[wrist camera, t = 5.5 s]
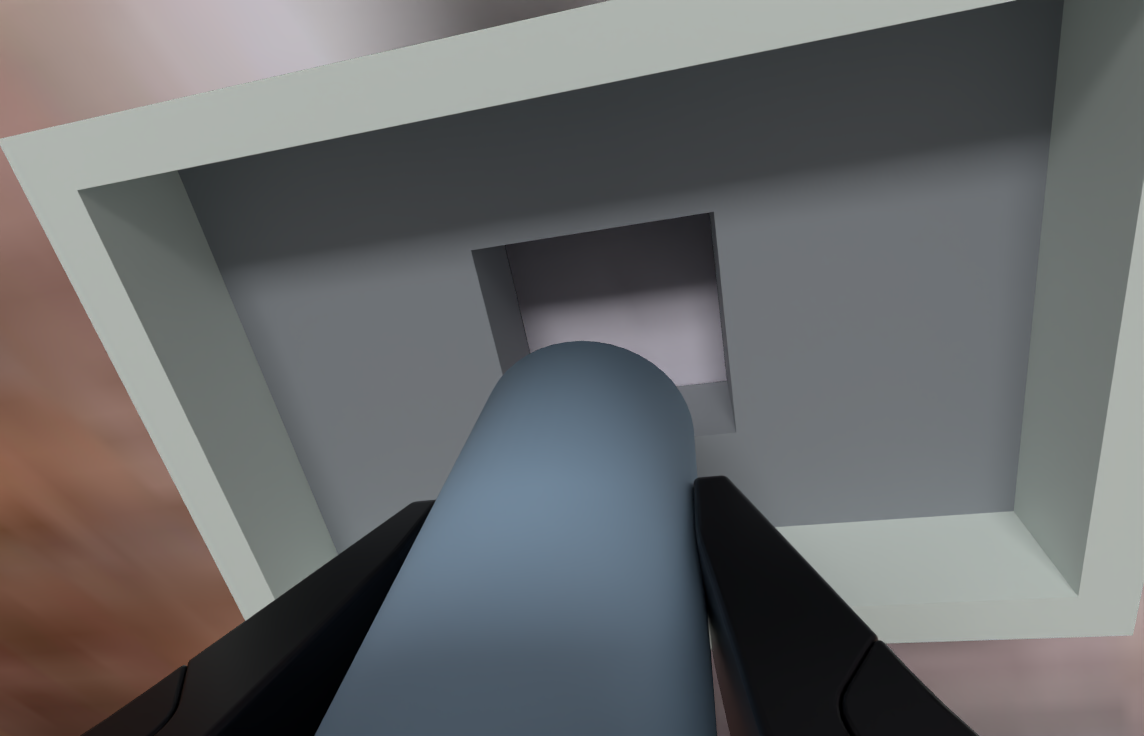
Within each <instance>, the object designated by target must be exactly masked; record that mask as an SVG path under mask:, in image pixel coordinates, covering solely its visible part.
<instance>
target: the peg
mask: <svg viewBox="0 0 1144 736" xmlns="http://www.w3.org/2000/svg"><path fill="white" fill-rule="evenodd" d="M696 478H697V465H696V452H695V438H694V427H693V422H692V417H691V414H690V411H689V409H688V406H687V403H686V402H685V400H684V398H683V396H682V394H681V392H680V391H679V390H678V388H677V387H676V386H675V384H674V383H673V382H672V380H671V379H670V378H669V377H668V376H667V375H666V374H665V373H664V372H663V371H662V370H660V369H659V368H658V367H656V366H655V365H654V364H653V363H651V362H650V361H648V360H646V359H645V358H643V357H641V356H640V355H638V354H636V353H633V352H631V351H629V350H627V349H624V348H621V347H618V346H614V345H611V344H605V343H600V342H590V341H575V342H564V343H559V344H554V345H551V346H547V347H544V348H541V349H539V350H537V351H535V352H533V353H530V354H528V355H527V356H525V357H524V358H522V359H521V360H519V361H518V362H516V363H515V364H514V365H513V366H512V367H510V368H509V369H508V370H507V371H506V372H505V373H504V375H503V376H502V377H501V378H500V379H499V381H498V382H497V384H496V386H495V387H494V389H493V390H492V392H491V394H490V396H489V398H488V400H487V402H486V404H485V406H484V408H483V410H482V412H481V414H480V416H479V418H478V419H477V421H476V423H475V425H474V427H473V429H472V431H471V433H470V435H469V437H468V439H467V441H466V443H465V445H464V447H463V449H462V451H461V452H460V454H459V456H458V458H457V460H456V462H455V464H454V466H453V468H452V470H451V472H450V474H449V476H448V478H447V480H446V482H445V483H444V485H443V487H442V489H441V491H440V493H439V495H438V497H437V499H436V501H435V503H434V505H433V507H432V509H431V511H430V513H429V515H428V516H427V518H426V520H425V522H424V524H423V526H422V528H421V530H420V532H419V534H418V536H417V538H416V540H415V542H414V544H413V546H412V548H411V549H410V551H409V553H408V555H407V557H406V559H405V561H404V563H403V565H402V567H401V569H400V571H399V573H398V575H397V577H396V579H395V580H394V582H393V584H392V586H391V588H390V590H389V592H388V594H387V596H386V598H385V600H384V602H383V604H382V606H381V608H380V610H379V612H378V613H377V615H376V617H375V619H374V621H373V623H372V625H371V627H370V629H369V631H368V633H367V635H366V637H365V639H364V641H363V643H362V644H361V646H360V648H359V650H358V652H357V654H356V656H355V658H354V660H353V662H352V664H351V666H350V668H349V670H348V672H347V674H346V676H345V677H344V679H343V681H342V683H341V685H340V687H339V689H338V691H337V693H336V695H335V697H334V699H333V701H332V703H331V705H330V707H329V709H328V710H327V712H326V714H325V716H324V718H323V720H322V722H321V724H320V726H319V728H318V730H317V732H316V734H315V736H717V729H716V715H715V702H714V689H713V676H712V663H711V649H710V636H709V623H708V610H707V601H706V595H705V589H704V584H703V578H702V573H701V566H700V559H699V552H698V545H697V538H696V529H695V508H694V480H695V479H696Z"/></svg>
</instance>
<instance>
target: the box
mask: <svg viewBox="0 0 1144 736" xmlns="http://www.w3.org/2000/svg"><path fill="white" fill-rule="evenodd" d="M0 146H1V148H2V150H3V152H4V154H5V156H6V158H7V159H8V161H9V163H10V165H11V167H12V169H13V171H14V173H15V175H16V177H17V179H18V181H19V183H20V185H21V187H22V189H23V190H24V192H25V194H26V196H27V198H28V200H29V202H30V204H31V206H32V208H33V210H34V212H35V214H36V216H37V218H38V220H39V222H40V223H41V225H42V227H43V229H44V231H45V233H46V235H47V237H48V239H49V241H50V243H51V245H52V247H53V249H54V251H55V253H56V254H57V256H58V258H59V260H60V262H61V264H62V266H63V268H64V270H65V272H66V274H67V276H68V278H69V280H70V282H71V284H72V285H73V287H74V289H75V291H76V293H77V295H78V297H79V299H80V301H81V303H82V305H83V307H84V309H85V311H86V313H87V315H88V317H89V318H90V320H91V322H92V324H93V326H94V328H95V330H96V332H97V334H98V336H99V338H100V340H101V342H102V344H103V346H104V348H105V349H106V351H107V353H108V355H109V357H110V359H111V361H112V363H113V365H114V367H115V369H116V371H117V373H118V375H119V377H120V379H121V380H122V382H123V384H124V386H125V388H126V390H127V392H128V394H129V396H130V398H131V400H132V402H133V404H134V406H135V408H136V410H137V411H138V413H139V415H140V417H141V419H142V421H143V423H144V425H145V427H146V429H147V431H148V433H149V435H150V437H151V439H152V441H153V443H154V444H155V446H156V448H157V450H158V452H159V454H160V456H161V458H162V460H163V462H164V464H165V466H166V468H167V470H168V472H169V474H170V475H171V477H172V479H173V481H174V483H175V485H176V487H177V489H178V491H179V493H180V495H181V497H182V499H183V501H184V503H185V505H186V506H187V508H188V510H189V512H190V514H191V516H192V518H193V520H194V522H195V524H196V526H197V528H198V530H199V532H200V534H201V536H202V538H203V539H204V541H205V543H206V545H207V547H208V549H209V551H210V553H211V555H212V557H213V559H214V561H215V563H216V565H217V567H218V569H219V570H220V572H221V574H222V576H223V578H224V580H225V582H226V584H227V586H228V588H229V590H230V592H231V594H232V596H233V598H234V600H235V601H236V603H237V605H238V607H239V609H240V611H241V613H242V615H243V617H244V619H245V621H246V620H247V619H249V618H250V617H251V616H253V615H254V614H256V613H257V612H258V611H260V610H261V609H263V608H264V607H265V606H267V605H268V604H270V603H271V602H272V601H274V600H275V599H277V598H278V597H279V596H281V595H282V594H284V593H285V592H287V591H288V590H289V589H291V588H292V587H294V586H295V585H296V584H298V583H299V582H301V581H302V580H303V579H305V578H306V577H308V576H309V575H310V574H312V573H313V572H315V571H316V570H317V569H319V568H320V567H322V566H323V565H324V564H326V563H327V562H329V561H330V560H331V559H333V558H334V557H336V556H337V555H339V554H340V553H341V552H343V551H344V550H346V549H347V548H348V547H350V546H351V545H353V544H354V543H355V542H357V541H358V540H360V539H361V538H362V537H364V536H365V535H367V534H368V533H369V532H371V531H372V530H374V529H375V528H376V527H378V526H379V525H381V524H382V523H383V522H385V521H386V520H388V519H389V518H391V517H392V516H393V515H395V514H396V513H398V512H399V511H400V510H402V509H403V508H405V507H406V506H407V505H409V504H410V503H412V502H415V501H425V500H436V499H437V497H438V495H439V493H440V491H441V489H442V487H443V485H444V483H445V482H446V480H447V478H448V476H449V474H450V472H451V470H452V468H453V466H454V464H455V462H456V460H457V458H458V456H459V454H460V452H461V451H462V449H463V447H464V445H465V443H466V441H467V439H468V437H469V435H470V433H471V431H472V429H473V427H474V425H475V423H476V421H477V419H478V418H479V416H480V414H481V412H482V410H483V408H484V406H485V404H486V402H487V400H488V398H489V396H490V394H491V392H492V390H493V389H494V387H495V386H496V384H497V382H498V381H499V379H500V378H501V377H502V376H503V375H504V373H505V372H506V371H507V370H508V369H509V368H510V367H512V366H513V365H514V364H515V363H516V362H518V361H519V360H521V359H522V358H524V357H525V356H527V355H528V354H530V352H529V347H528V343H527V339H526V335H525V330H524V326H523V322H522V318H521V313H520V309H519V305H518V300H517V296H516V292H515V288H514V283H513V279H512V275H511V271H510V266H509V262H508V258H507V254H506V249H505V245H508V244H514V243H520V242H527V241H533V240H539V239H545V238H552V237H558V236H564V235H570V234H577V233H583V232H589V231H596V230H602V229H608V228H614V227H621V226H627V225H633V224H640V223H646V222H652V221H658V220H665V219H671V218H677V217H684V216H690V215H696V214H702V213H710V223H711V233H712V242H713V252H714V261H715V271H716V280H717V290H718V299H719V309H720V318H721V328H722V338H723V347H724V357H725V366H726V376H727V381H723V382H713V383H704V384H695V385H686V386H677V388H678V390H679V391H680V392H681V394H682V396H683V398H684V400H685V402H686V403H687V406H688V409H689V411H690V414H691V417H692V422H693V427H694V438H695V452H696V465H697V478H698V477H707V476H719V475H724V476H726V477H728V478H729V479H730V480H731V481H732V482H733V483H734V484H735V486H736V487H737V488H738V489H739V490H740V491H741V492H742V493H743V494H744V495H745V496H746V497H747V498H748V499H749V500H750V501H751V502H752V504H753V505H754V506H755V507H756V508H757V509H758V510H759V511H760V512H761V513H762V514H763V515H764V516H765V517H766V518H767V519H768V521H769V522H770V523H771V524H772V525H773V526H774V527H775V528H776V529H777V530H778V531H779V532H780V533H781V534H782V535H783V536H784V537H785V539H786V540H787V541H788V542H789V543H790V544H791V545H792V546H793V547H794V548H795V549H796V550H797V551H798V552H799V553H800V554H801V555H802V557H803V558H804V559H805V560H806V561H807V562H808V563H809V564H810V565H811V566H812V567H813V568H814V569H815V570H816V571H817V572H818V574H819V575H820V576H821V577H822V578H823V579H824V580H825V581H826V582H827V583H828V584H829V585H830V586H831V587H832V588H833V589H834V590H835V592H836V593H837V594H838V595H839V596H840V597H841V598H842V599H843V600H844V601H845V602H846V603H847V604H848V605H849V606H850V607H851V608H852V610H853V611H854V612H855V613H856V614H857V615H858V616H859V617H860V618H861V619H862V620H863V621H864V622H865V623H866V624H867V625H868V627H869V628H870V629H871V630H872V631H873V632H874V633H875V634H876V635H877V637H878V640H881V641H883V642H884V643H916V642H946V641H977V640H1007V639H1037V638H1068V637H1098V636H1129V635H1133V632H1134V627H1135V622H1136V617H1137V612H1138V608H1139V603H1140V598H1141V593H1142V588H1143V583H1144V0H610V1H605V2H601V3H596V4H592V5H588V6H583V7H579V8H574V9H570V10H565V11H561V12H557V13H552V14H548V15H543V16H539V17H535V18H530V19H526V20H521V21H517V22H513V23H508V24H504V25H499V26H495V27H491V28H486V29H482V30H477V31H473V32H469V33H464V34H460V35H455V36H451V37H447V38H442V39H438V40H433V41H429V42H425V43H420V44H416V45H411V46H407V47H402V48H398V49H394V50H389V51H385V52H380V53H376V54H372V55H367V56H363V57H358V58H354V59H350V60H345V61H341V62H336V63H332V64H328V65H323V66H319V67H314V68H310V69H306V70H301V71H297V72H292V73H288V74H284V75H279V76H275V77H270V78H266V79H262V80H257V81H253V82H248V83H244V84H239V85H235V86H231V87H226V88H222V89H217V90H213V91H209V92H204V93H200V94H195V95H191V96H187V97H182V98H178V99H173V100H169V101H165V102H160V103H156V104H151V105H147V106H143V107H138V108H134V109H129V110H125V111H121V112H116V113H112V114H107V115H103V116H98V117H94V118H90V119H85V120H81V121H76V122H72V123H68V124H63V125H59V126H54V127H50V128H46V129H41V130H37V131H32V132H28V133H24V134H19V135H15V136H10V137H6V138H2V139H0ZM709 636H710V630H709ZM710 649H712V644H711V637H710Z"/></svg>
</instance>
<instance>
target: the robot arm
mask: <svg viewBox="0 0 1144 736" xmlns="http://www.w3.org/2000/svg"><path fill="white" fill-rule="evenodd" d="M435 501H436V500H425V501H415V502H412V503H410V504H409V505H407V506H406V507H405V508H403V509H402V510H400V511H399V512H398V513H396V514H395V515H393V516H392V517H391V518H389V519H388V520H386V521H385V522H383V523H382V524H381V525H379V526H378V527H376V528H375V529H374V530H372V531H371V532H369V533H368V534H367V535H365V536H364V537H362V538H361V539H360V540H358V541H357V542H355V543H354V544H353V545H351V546H350V547H348V548H347V549H346V550H344V551H343V552H341V553H340V554H339V555H337V556H336V557H334V558H333V559H331V560H330V561H329V562H327V563H326V564H324V565H323V566H322V567H320V568H319V569H317V570H316V571H315V572H313V573H312V574H310V575H309V576H308V577H306V578H305V579H303V580H302V581H301V582H299V583H298V584H296V585H295V586H294V587H292V588H291V589H289V590H288V591H287V592H285V593H284V594H282V595H281V596H279V597H278V598H277V599H275V600H274V601H272V602H271V603H270V604H268V605H267V606H265V607H264V608H263V609H261V610H260V611H258V612H257V613H256V614H254V615H253V616H251V617H250V618H249V619H247V620H246V621H244V622H243V623H242V624H240V625H239V626H237V627H236V628H235V629H233V630H232V631H230V632H229V633H227V634H226V635H225V636H223V637H222V638H220V639H219V640H218V641H216V642H215V643H213V644H212V645H211V646H209V647H208V648H206V649H205V650H204V651H202V652H201V653H199V654H198V655H197V656H195V657H194V658H192V659H191V660H190V661H189V662H188V666H185V665H183V666H181V667H179V668H178V669H177V670H175V671H174V672H172V673H171V674H170V675H168V676H167V677H165V678H164V679H163V680H161V681H160V682H158V683H157V684H156V685H154V686H153V687H151V688H150V689H148V690H147V691H146V692H144V693H143V694H141V695H140V696H138V697H137V698H135V699H134V700H133V701H131V702H130V703H128V704H127V705H125V706H124V707H122V708H121V709H120V710H118V711H117V712H115V713H114V714H112V715H111V716H109V717H108V718H107V719H105V720H104V721H102V722H100V723H99V724H97V725H96V726H94V727H93V728H91V729H90V730H88V731H87V732H85V733H84V734H82V735H81V736H315V734H316V732H317V730H318V728H319V726H320V724H321V722H322V720H323V718H324V716H325V714H326V712H327V710H328V709H329V707H330V705H331V703H332V701H333V699H334V697H335V695H336V693H337V691H338V689H339V687H340V685H341V683H342V681H343V679H344V677H345V676H346V674H347V672H348V670H349V668H350V666H351V664H352V662H353V660H354V658H355V656H356V654H357V652H358V650H359V648H360V646H361V644H362V643H363V641H364V639H365V637H366V635H367V633H368V631H369V629H370V627H371V625H372V623H373V621H374V619H375V617H376V615H377V613H378V612H379V610H380V608H381V606H382V604H383V602H384V600H385V598H386V596H387V594H388V592H389V590H390V588H391V586H392V584H393V582H394V580H395V579H396V577H397V575H398V573H399V571H400V569H401V567H402V565H403V563H404V561H405V559H406V557H407V555H408V553H409V551H410V549H411V548H412V546H413V544H414V542H415V540H416V538H417V536H418V534H419V532H420V530H421V528H422V526H423V524H424V522H425V520H426V518H427V516H428V515H429V513H430V511H431V509H432V507H433V505H434V503H435ZM694 508H695V529H696V538H697V545H698V552H699V559H700V566H701V573H702V578H703V584H704V589H705V595H706V601H707V610H708V623H709V630H710V637H711V644H712V651H713V658H714V663H715V668H716V673H717V678H718V682H719V687H720V691H721V696H722V700H723V705H724V709H725V713H726V718H727V722H728V727H729V731H730V736H979V735H978V734H977V733H976V732H974V731H973V730H972V729H971V728H970V727H969V726H968V725H967V724H965V723H964V722H963V721H962V720H961V719H960V718H959V717H958V716H957V715H955V714H954V713H953V712H952V711H951V710H950V709H949V708H948V707H947V706H945V705H944V704H943V703H942V702H941V701H940V700H939V699H938V698H937V697H936V696H935V695H934V694H933V693H932V692H931V691H930V690H929V689H928V688H927V687H926V686H925V685H924V684H923V683H922V682H921V681H920V680H919V679H918V678H917V677H916V676H915V675H914V674H913V673H912V672H911V671H910V670H909V669H908V668H907V667H906V666H905V664H904V663H903V662H902V661H901V660H900V659H899V658H898V657H897V656H896V655H895V654H894V653H893V652H892V651H891V649H890V648H889V647H888V646H887V645H886V644H885V643H884V642H883V641H881V640H878V637H877V635H876V634H875V633H874V632H873V631H872V630H871V629H870V628H869V627H868V625H867V624H866V623H865V622H864V621H863V620H862V619H861V618H860V617H859V616H858V615H857V614H856V613H855V612H854V611H853V610H852V608H851V607H850V606H849V605H848V604H847V603H846V602H845V601H844V600H843V599H842V598H841V597H840V596H839V595H838V594H837V593H836V592H835V590H834V589H833V588H832V587H831V586H830V585H829V584H828V583H827V582H826V581H825V580H824V579H823V578H822V577H821V576H820V575H819V574H818V572H817V571H816V570H815V569H814V568H813V567H812V566H811V565H810V564H809V563H808V562H807V561H806V560H805V559H804V558H803V557H802V555H801V554H800V553H799V552H798V551H797V550H796V549H795V548H794V547H793V546H792V545H791V544H790V543H789V542H788V541H787V540H786V539H785V537H784V536H783V535H782V534H781V533H780V532H779V531H778V530H777V529H776V528H775V527H774V526H773V525H772V524H771V523H770V522H769V521H768V519H767V518H766V517H765V516H764V515H763V514H762V513H761V512H760V511H759V510H758V509H757V508H756V507H755V506H754V505H753V504H752V502H751V501H750V500H749V499H748V498H747V497H746V496H745V495H744V494H743V493H742V492H741V491H740V490H739V489H738V488H737V487H736V486H735V484H734V483H733V482H732V481H731V480H730V479H729V478H728V477H726V476H724V475H719V476H707V477H698V478H696V479H695V480H694Z"/></svg>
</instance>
